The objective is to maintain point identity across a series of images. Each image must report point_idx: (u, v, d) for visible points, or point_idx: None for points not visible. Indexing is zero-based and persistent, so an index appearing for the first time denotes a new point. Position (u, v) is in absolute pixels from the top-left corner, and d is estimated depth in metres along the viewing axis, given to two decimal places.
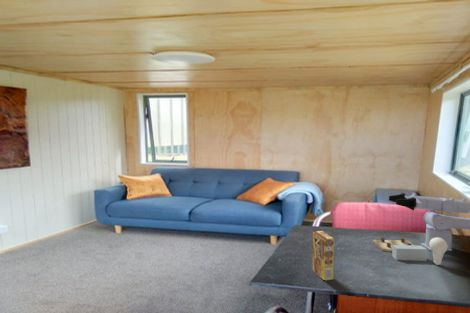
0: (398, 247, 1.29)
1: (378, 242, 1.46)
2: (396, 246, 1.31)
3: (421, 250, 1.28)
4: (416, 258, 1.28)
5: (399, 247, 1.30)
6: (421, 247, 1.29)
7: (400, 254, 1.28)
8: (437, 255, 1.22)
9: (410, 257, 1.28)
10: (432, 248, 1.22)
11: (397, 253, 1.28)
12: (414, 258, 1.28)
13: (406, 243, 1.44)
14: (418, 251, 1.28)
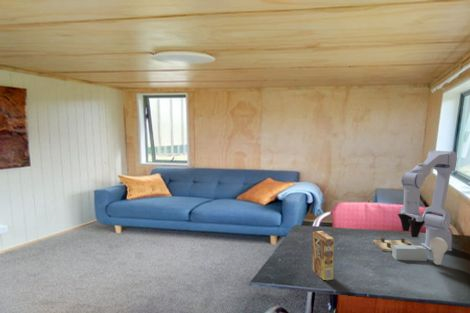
0: (398, 247, 1.29)
1: (378, 242, 1.46)
2: (396, 246, 1.31)
3: (421, 250, 1.27)
4: (416, 258, 1.28)
5: (399, 246, 1.30)
6: (421, 247, 1.29)
7: (400, 254, 1.28)
8: (437, 255, 1.22)
9: (410, 257, 1.28)
10: (432, 248, 1.22)
11: (397, 253, 1.28)
12: (414, 258, 1.28)
13: (406, 243, 1.44)
14: (418, 251, 1.28)
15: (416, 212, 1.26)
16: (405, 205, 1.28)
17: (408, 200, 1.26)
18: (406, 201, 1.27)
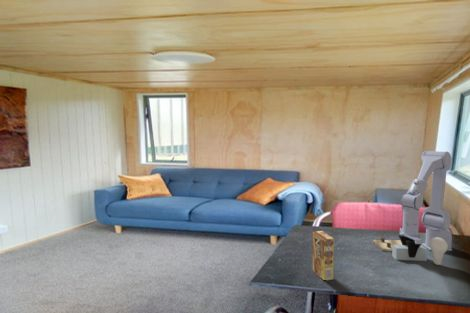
0: (398, 247, 1.29)
1: (378, 242, 1.46)
2: (396, 246, 1.31)
3: (421, 250, 1.27)
4: (416, 258, 1.28)
5: (399, 246, 1.30)
6: (421, 247, 1.29)
7: (400, 254, 1.28)
8: (437, 255, 1.22)
9: None
10: (432, 248, 1.22)
11: (397, 252, 1.28)
12: (414, 258, 1.28)
13: None
14: (418, 251, 1.28)
15: (415, 234, 1.27)
16: (404, 227, 1.28)
17: (407, 222, 1.27)
18: (405, 223, 1.28)
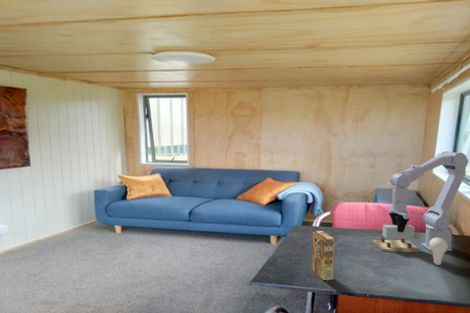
0: (388, 226, 1.40)
1: (378, 242, 1.46)
2: (386, 225, 1.41)
3: (409, 229, 1.38)
4: (404, 236, 1.38)
5: (389, 226, 1.40)
6: (409, 226, 1.40)
7: (390, 232, 1.39)
8: (437, 255, 1.22)
9: (399, 235, 1.38)
10: (432, 248, 1.22)
11: (387, 231, 1.39)
12: (402, 236, 1.38)
13: (406, 243, 1.44)
14: (406, 230, 1.38)
15: (404, 210, 1.37)
16: (394, 204, 1.39)
17: (393, 198, 1.39)
18: (392, 199, 1.40)
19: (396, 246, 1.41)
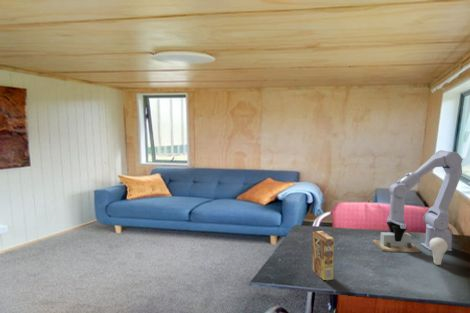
0: (385, 234, 1.42)
1: (378, 242, 1.46)
2: (384, 233, 1.43)
3: (406, 236, 1.40)
4: (401, 244, 1.41)
5: (386, 233, 1.43)
6: (406, 234, 1.42)
7: (387, 240, 1.41)
8: (437, 255, 1.22)
9: (396, 242, 1.41)
10: (432, 248, 1.22)
11: (385, 239, 1.41)
12: (400, 244, 1.41)
13: None
14: (403, 238, 1.41)
15: (401, 220, 1.39)
16: (391, 213, 1.41)
17: (390, 208, 1.42)
18: (390, 209, 1.42)
19: (396, 246, 1.41)
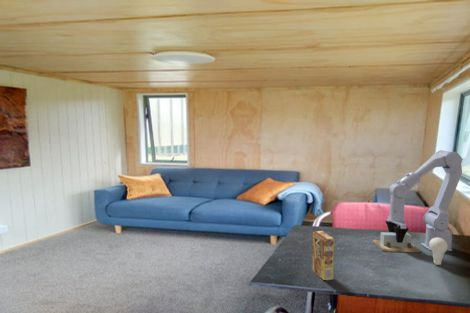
0: (385, 234, 1.42)
1: (378, 242, 1.46)
2: (384, 233, 1.43)
3: (406, 236, 1.40)
4: (401, 244, 1.41)
5: (386, 233, 1.43)
6: (406, 234, 1.42)
7: (387, 240, 1.41)
8: (437, 255, 1.22)
9: (396, 242, 1.41)
10: (432, 248, 1.22)
11: (385, 239, 1.41)
12: (400, 244, 1.41)
13: None
14: None
15: (401, 220, 1.39)
16: (391, 213, 1.41)
17: (390, 208, 1.42)
18: (390, 209, 1.42)
19: (396, 246, 1.41)
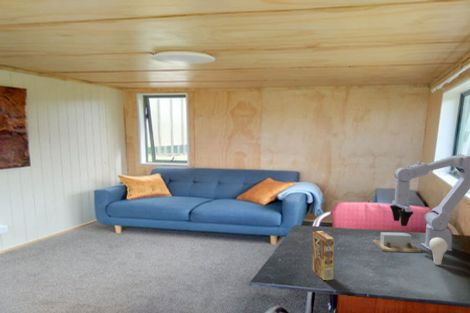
0: (385, 234, 1.42)
1: (378, 242, 1.46)
2: (384, 233, 1.43)
3: (406, 236, 1.40)
4: (401, 244, 1.41)
5: (386, 233, 1.43)
6: (406, 234, 1.42)
7: (387, 240, 1.41)
8: (437, 255, 1.22)
9: (396, 242, 1.41)
10: (432, 248, 1.22)
11: (385, 239, 1.41)
12: (400, 244, 1.41)
13: None
14: (403, 238, 1.41)
15: (406, 204, 1.41)
16: (396, 197, 1.42)
17: (395, 192, 1.43)
18: (395, 193, 1.44)
19: (396, 246, 1.41)
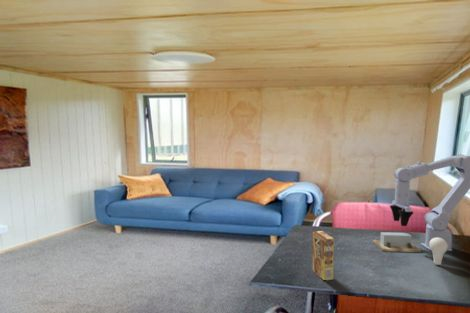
0: (385, 234, 1.42)
1: (378, 242, 1.46)
2: (384, 233, 1.43)
3: (406, 236, 1.40)
4: (401, 244, 1.41)
5: (386, 233, 1.43)
6: (406, 234, 1.42)
7: (387, 240, 1.41)
8: (437, 255, 1.22)
9: (396, 242, 1.41)
10: (432, 248, 1.22)
11: (385, 239, 1.41)
12: (400, 244, 1.41)
13: None
14: (403, 238, 1.41)
15: (406, 204, 1.41)
16: (396, 197, 1.42)
17: (395, 192, 1.43)
18: (395, 193, 1.44)
19: (396, 246, 1.41)
